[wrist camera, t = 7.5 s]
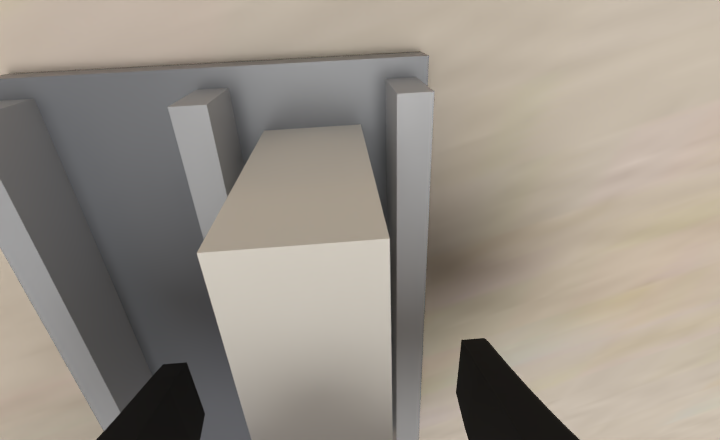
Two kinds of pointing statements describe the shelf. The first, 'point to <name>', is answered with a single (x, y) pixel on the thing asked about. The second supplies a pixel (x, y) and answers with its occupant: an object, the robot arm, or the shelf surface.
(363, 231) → the long beige block
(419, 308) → the ridged grey tray
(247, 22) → the shelf surface
